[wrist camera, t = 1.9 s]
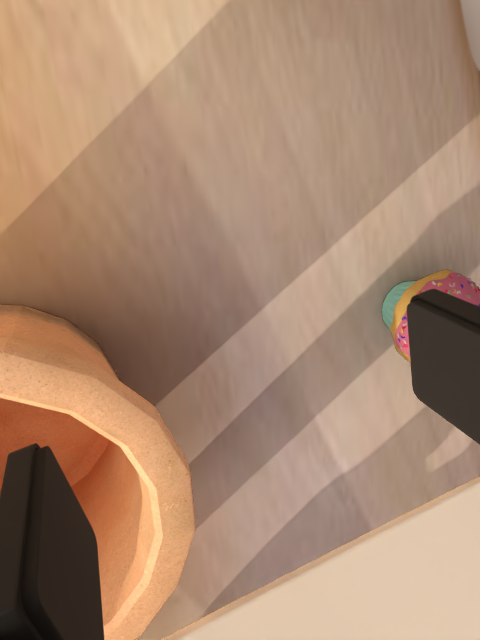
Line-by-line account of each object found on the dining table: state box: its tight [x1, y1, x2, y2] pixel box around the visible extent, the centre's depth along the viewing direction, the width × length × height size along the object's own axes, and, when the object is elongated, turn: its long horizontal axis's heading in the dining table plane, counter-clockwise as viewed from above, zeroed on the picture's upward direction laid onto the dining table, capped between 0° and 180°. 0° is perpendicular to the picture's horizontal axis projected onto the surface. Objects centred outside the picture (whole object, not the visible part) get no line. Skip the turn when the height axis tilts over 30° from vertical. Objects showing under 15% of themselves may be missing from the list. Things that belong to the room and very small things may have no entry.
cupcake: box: [382, 270, 480, 362], centre depth 38 cm, size 9×8×12 cm
